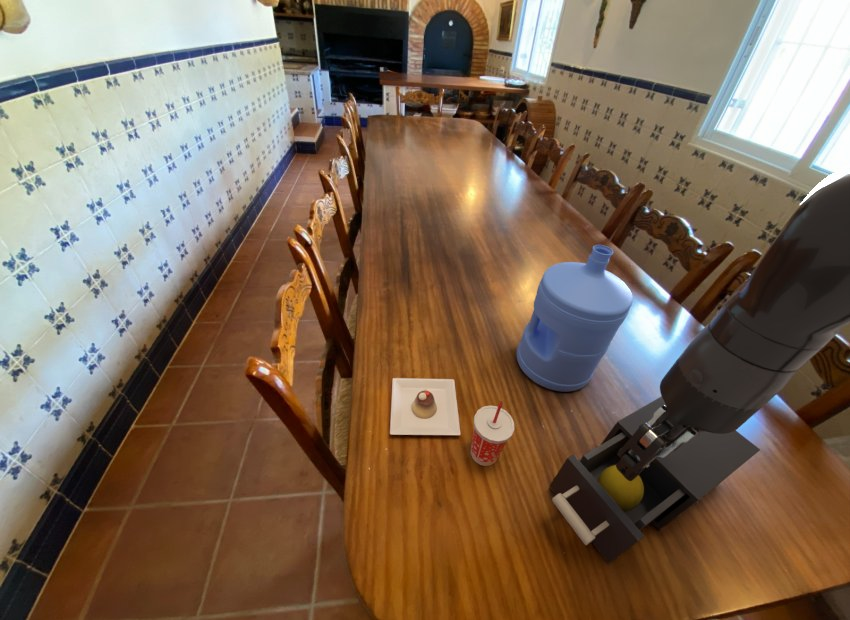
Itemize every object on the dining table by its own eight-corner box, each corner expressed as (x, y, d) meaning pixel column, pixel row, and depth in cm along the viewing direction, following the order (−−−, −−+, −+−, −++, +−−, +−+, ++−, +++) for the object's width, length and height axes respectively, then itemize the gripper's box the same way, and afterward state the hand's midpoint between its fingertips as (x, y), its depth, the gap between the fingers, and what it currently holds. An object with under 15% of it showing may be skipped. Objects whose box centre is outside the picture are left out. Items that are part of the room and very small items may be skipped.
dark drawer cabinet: (658, 530, 52) (699, 500, 45) (591, 456, 60) (617, 421, 54) (717, 482, 58) (760, 449, 52) (649, 421, 67) (679, 385, 60)
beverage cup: (509, 452, 60) (530, 402, 51) (488, 478, 56) (507, 430, 47) (479, 429, 63) (495, 378, 54) (458, 452, 59) (471, 402, 50)
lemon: (582, 482, 55) (602, 456, 50) (616, 479, 55) (639, 454, 50) (599, 521, 51) (623, 497, 45) (635, 518, 51) (663, 494, 46)
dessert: (453, 382, 70) (456, 366, 67) (459, 438, 61) (463, 422, 58) (392, 381, 70) (392, 365, 67) (389, 437, 60) (389, 422, 57)
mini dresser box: (585, 582, 46) (613, 561, 40) (527, 499, 53) (543, 471, 48) (673, 511, 53) (707, 485, 48) (611, 447, 61) (634, 418, 55)
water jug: (587, 348, 81) (645, 237, 63) (592, 403, 69) (665, 286, 51) (518, 331, 83) (555, 220, 65) (511, 381, 72) (553, 263, 54)
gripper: (722, 435, 29) (635, 514, 40) (801, 378, 35) (707, 460, 45) (642, 371, 34) (584, 456, 45) (723, 330, 40) (654, 414, 50)
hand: (646, 458), depth 45 cm, fingers open, 8 cm apart
